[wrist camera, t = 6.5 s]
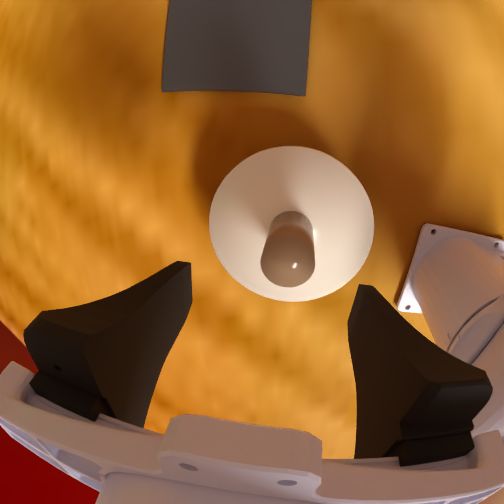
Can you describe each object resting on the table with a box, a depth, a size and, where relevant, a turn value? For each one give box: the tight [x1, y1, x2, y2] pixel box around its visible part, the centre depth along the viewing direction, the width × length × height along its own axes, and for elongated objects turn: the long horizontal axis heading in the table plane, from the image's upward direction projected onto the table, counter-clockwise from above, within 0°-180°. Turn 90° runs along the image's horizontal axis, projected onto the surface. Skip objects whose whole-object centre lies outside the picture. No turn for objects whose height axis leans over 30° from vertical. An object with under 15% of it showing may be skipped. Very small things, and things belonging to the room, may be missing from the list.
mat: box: [162, 0, 312, 96], centre depth 16 cm, size 10×11×1 cm
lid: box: [209, 146, 374, 302], centre depth 16 cm, size 10×10×5 cm
